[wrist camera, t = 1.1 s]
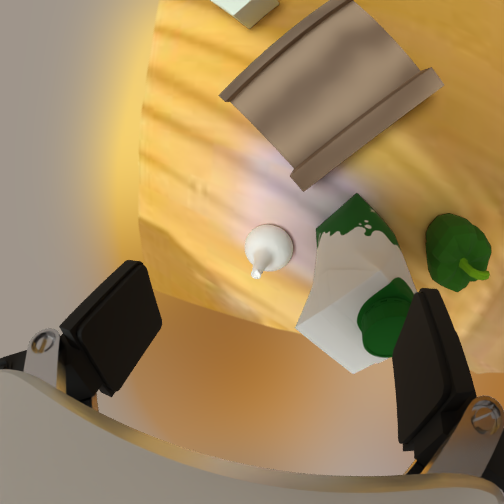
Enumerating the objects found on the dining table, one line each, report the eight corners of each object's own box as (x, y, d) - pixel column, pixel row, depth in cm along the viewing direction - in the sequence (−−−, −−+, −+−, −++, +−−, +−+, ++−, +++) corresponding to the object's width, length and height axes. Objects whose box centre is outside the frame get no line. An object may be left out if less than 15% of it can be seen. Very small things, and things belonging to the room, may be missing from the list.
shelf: (422, 88, 23) (444, 85, 17) (308, 175, 32) (303, 192, 26) (344, 4, 20) (347, -19, 15) (233, 96, 30) (210, 95, 24)
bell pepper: (405, 246, 33) (423, 291, 25) (436, 193, 29) (468, 226, 20) (447, 270, 33) (470, 316, 24) (478, 224, 28) (512, 262, 20)
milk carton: (400, 232, 32) (445, 352, 16) (349, 272, 37) (349, 400, 20) (356, 182, 31) (385, 277, 14) (304, 228, 36) (275, 348, 19)
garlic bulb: (299, 228, 37) (292, 253, 29) (287, 269, 39) (278, 301, 32) (252, 216, 37) (235, 237, 30) (244, 257, 40) (227, 285, 33)
